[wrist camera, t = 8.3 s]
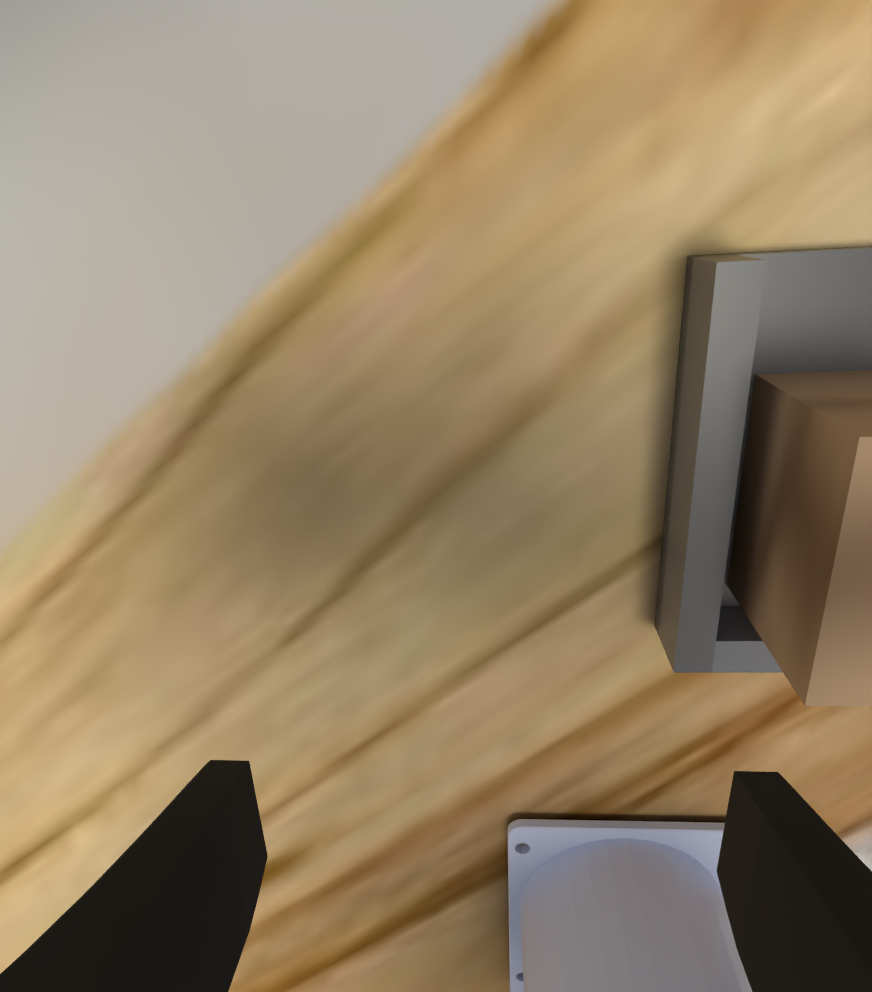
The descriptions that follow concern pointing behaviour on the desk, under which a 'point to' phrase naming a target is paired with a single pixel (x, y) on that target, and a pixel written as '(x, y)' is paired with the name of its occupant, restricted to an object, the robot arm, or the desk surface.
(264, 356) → the desk surface
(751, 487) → the walnut block
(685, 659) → the gray u-shaped channel bracket
